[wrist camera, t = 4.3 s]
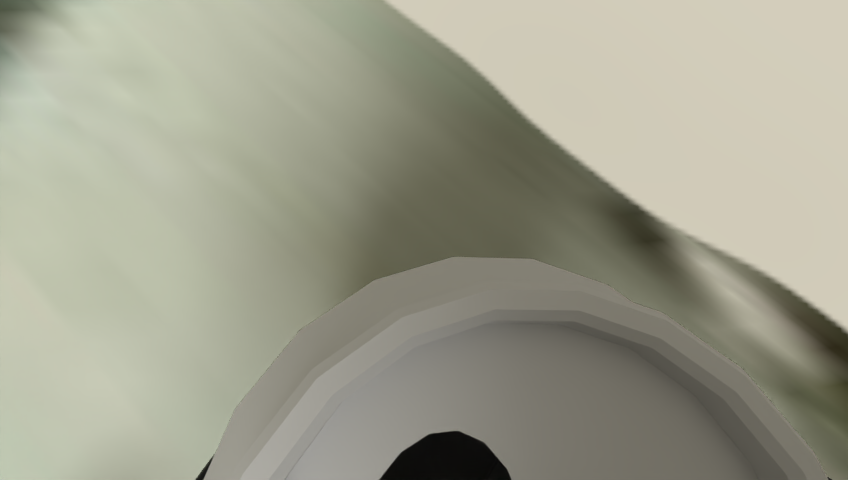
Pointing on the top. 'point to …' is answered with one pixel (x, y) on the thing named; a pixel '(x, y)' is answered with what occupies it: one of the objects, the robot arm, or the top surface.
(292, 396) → the can
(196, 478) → the robot arm
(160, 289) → the top surface
